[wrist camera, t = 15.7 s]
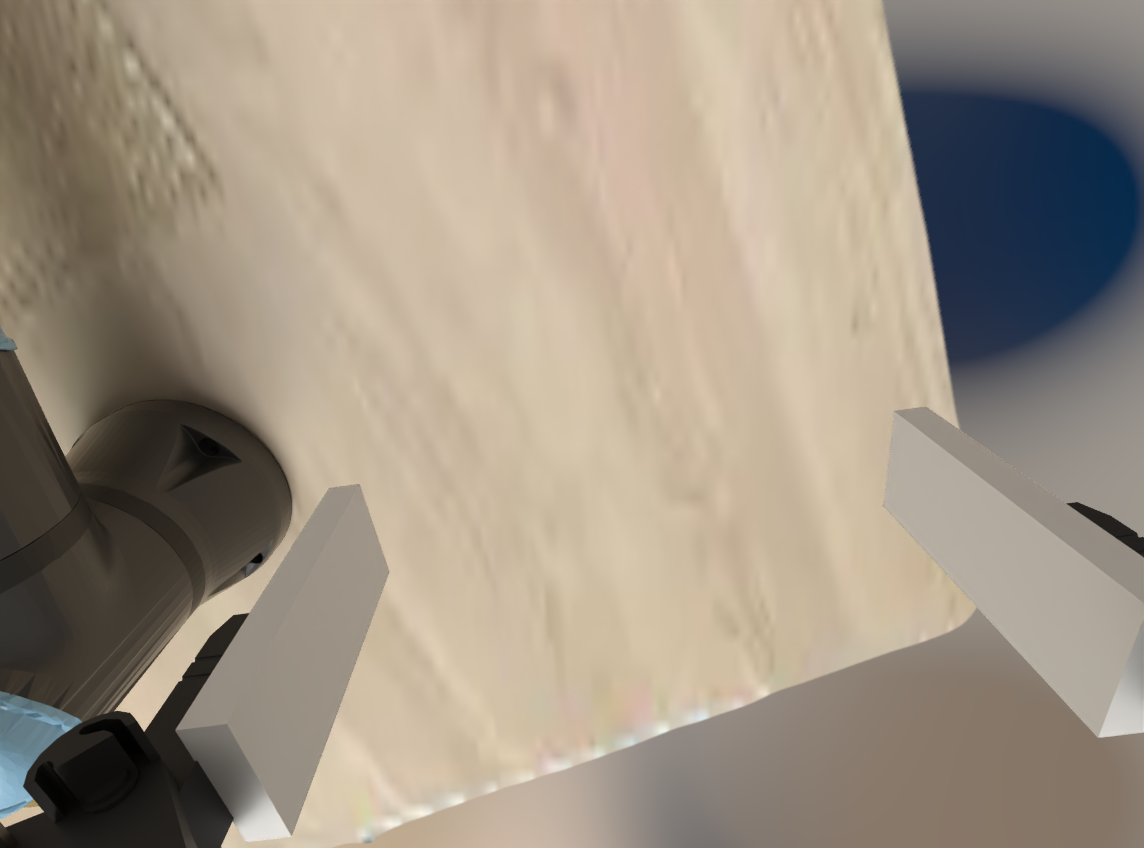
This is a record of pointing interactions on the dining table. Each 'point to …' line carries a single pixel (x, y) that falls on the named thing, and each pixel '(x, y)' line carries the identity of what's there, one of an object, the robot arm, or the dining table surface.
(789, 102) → the dining table surface
